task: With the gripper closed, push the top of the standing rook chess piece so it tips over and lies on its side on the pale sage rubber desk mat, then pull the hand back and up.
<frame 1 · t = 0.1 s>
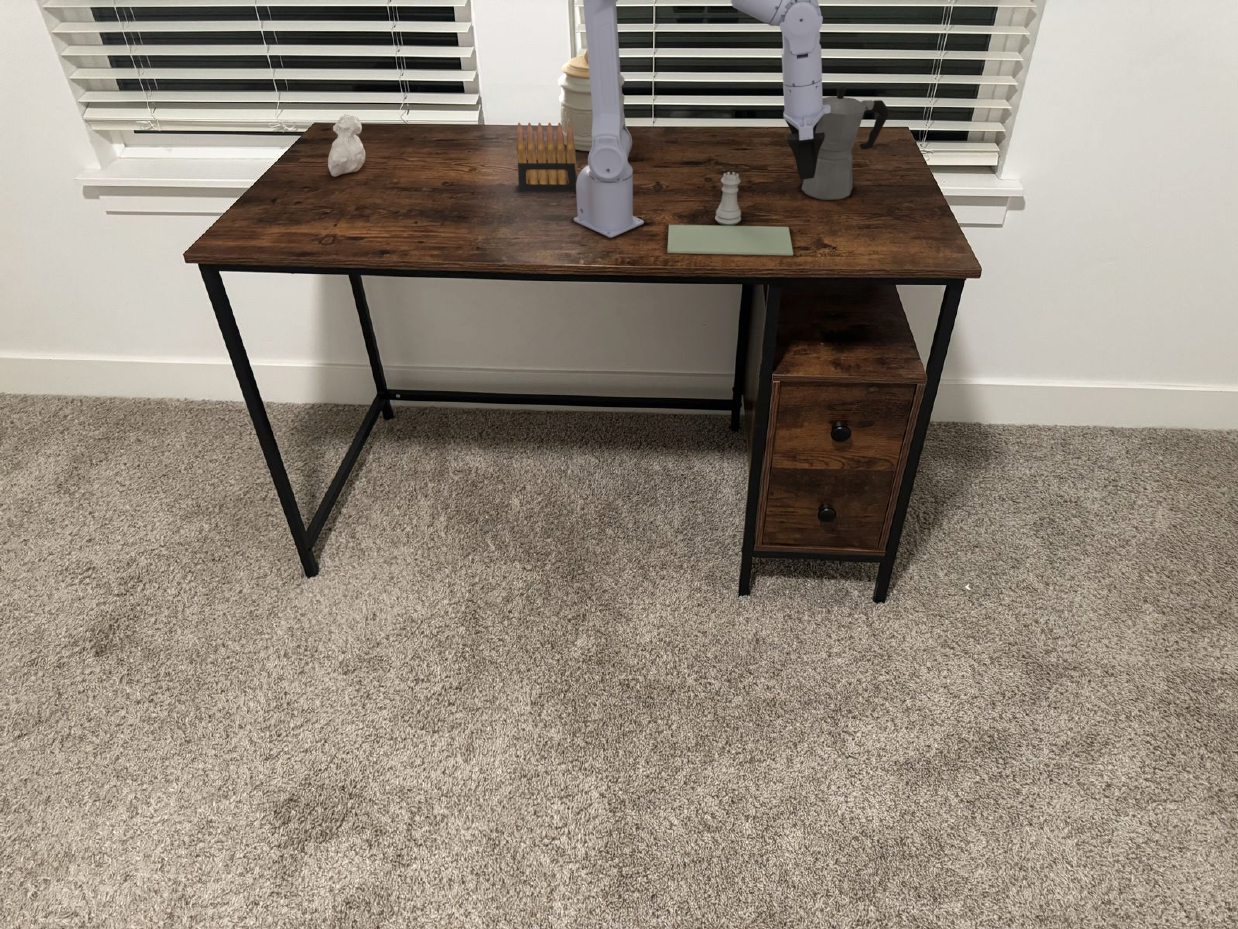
hand: (805, 168, 142), 11 cm above the table, tool pointing down, fingers open, 7 cm apart
ammunition clip: (548, 189, 163), on the table
rook chess piece: (727, 221, 151), on the table
jar: (593, 141, 181), on the table
white tied sack: (351, 170, 171), on the table
mat: (729, 240, 146), on the table
coffeepot: (832, 190, 161), on the table
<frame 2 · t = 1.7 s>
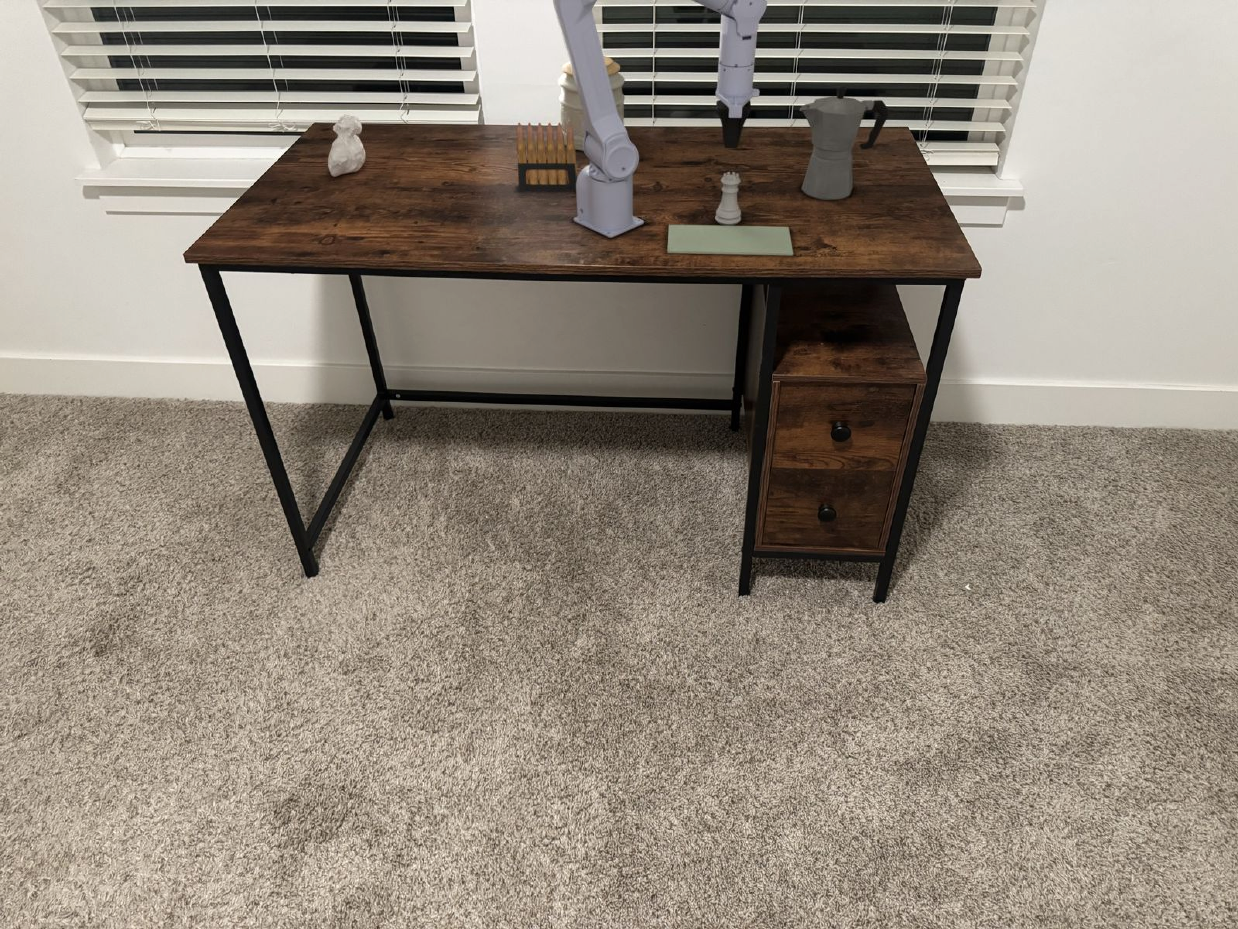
hand: (730, 146, 151), 10 cm above the table, tool pointing down, fingers closed
nothing on the table moved.
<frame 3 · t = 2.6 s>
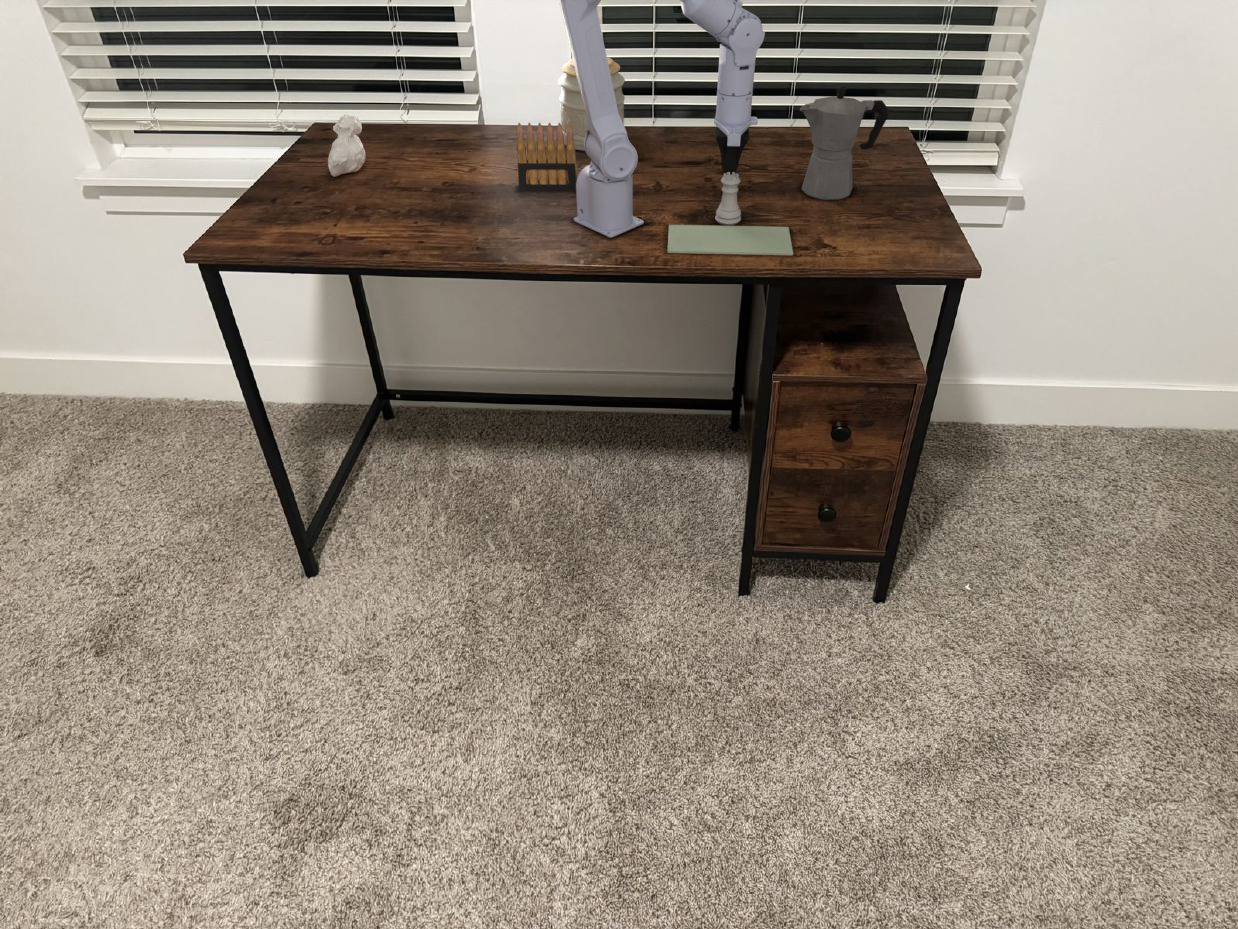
hand: (729, 172, 152), 6 cm above the table, tool pointing down, fingers closed
nothing on the table moved.
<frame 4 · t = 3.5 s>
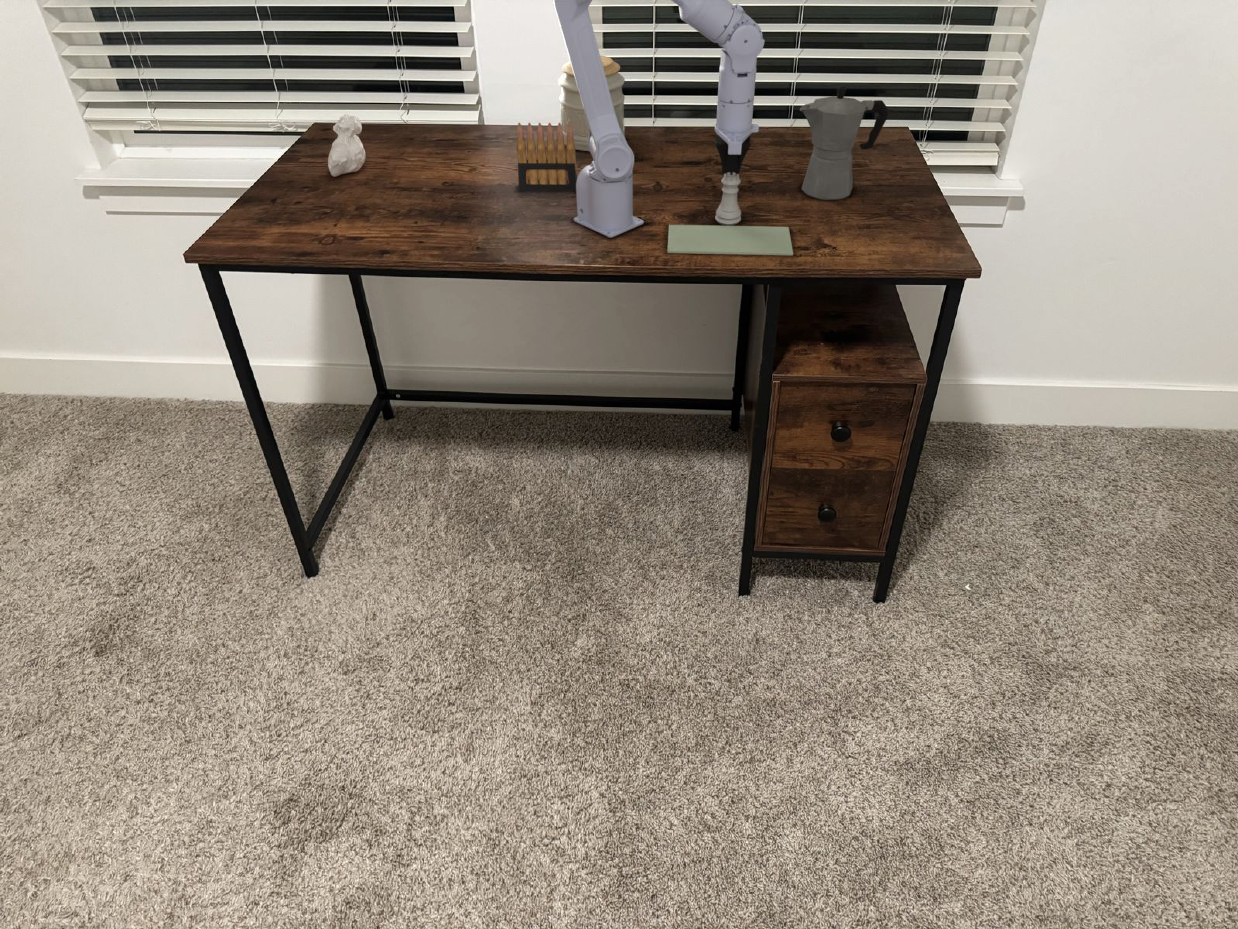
hand: (730, 181, 149), 6 cm above the table, tool pointing down, fingers closed
rook chess piece: (727, 221, 151), on the table, touching gripper
everything else where it was.
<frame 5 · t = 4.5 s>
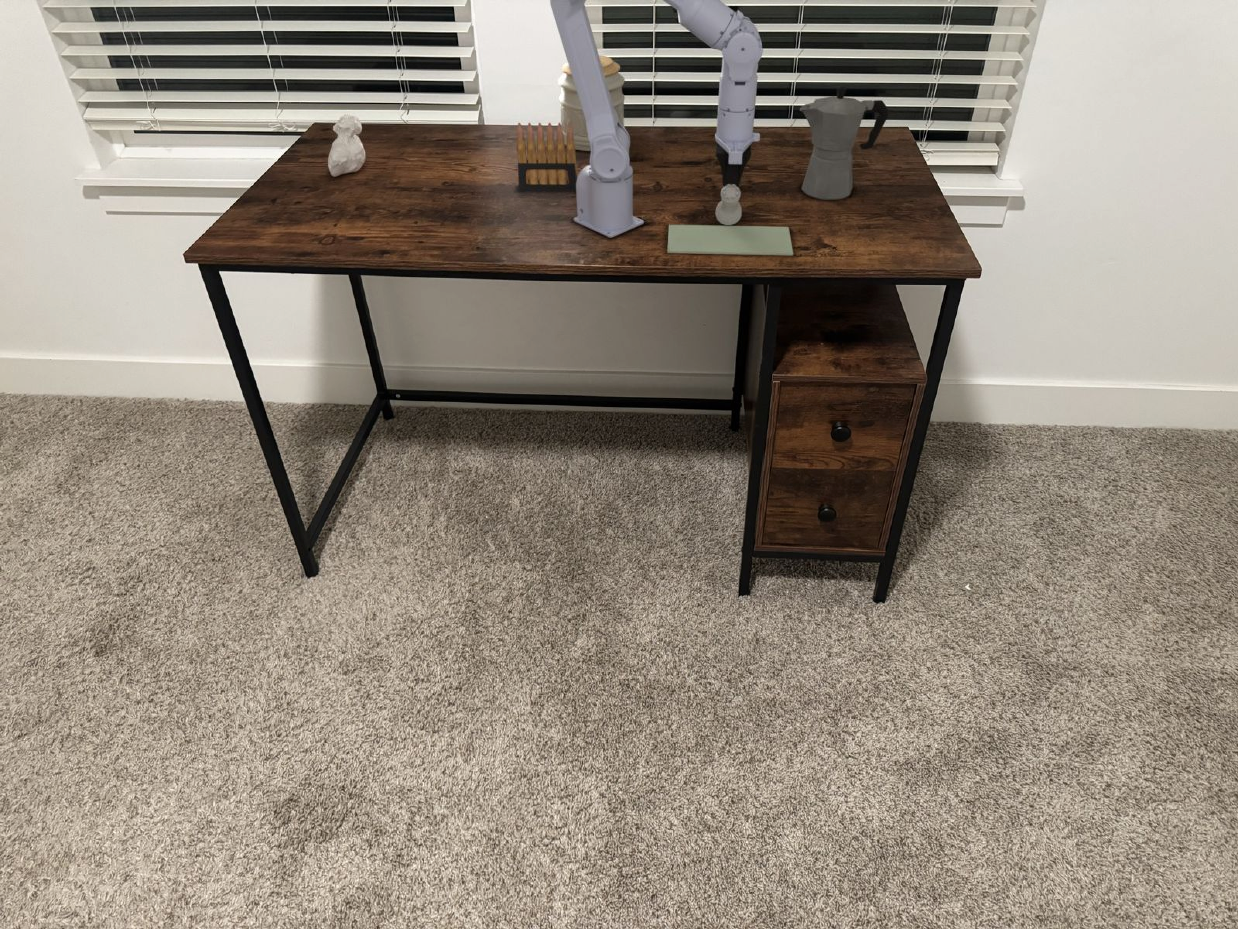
hand: (730, 190, 146), 6 cm above the table, tool pointing down, fingers closed
rook chess piece: (728, 214, 150), point 1 cm above the table
everything else where it was.
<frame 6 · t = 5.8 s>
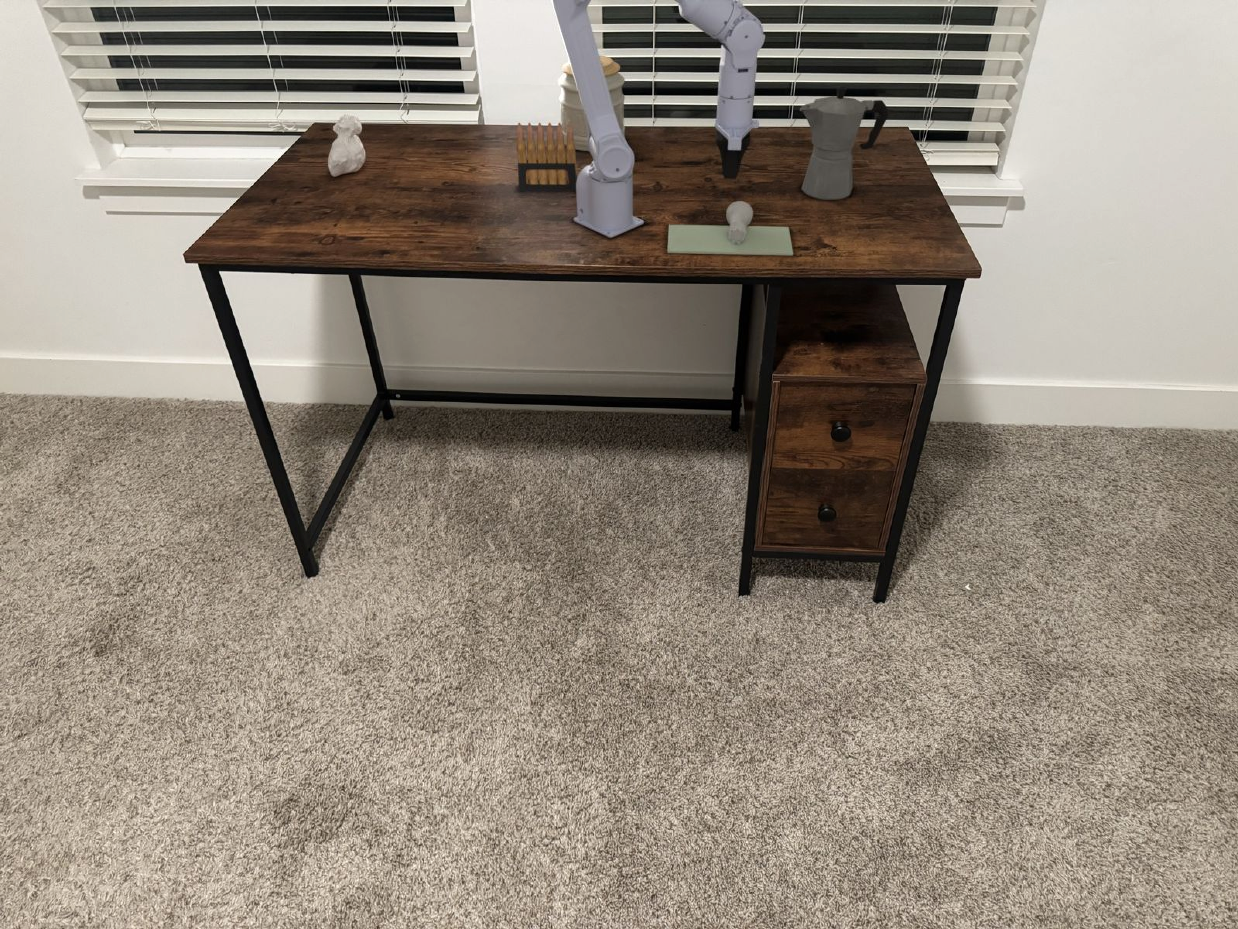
hand: (730, 177, 149), 7 cm above the table, tool pointing down, fingers closed
rook chess piece: (739, 211, 148), point 3 cm above the table, touching mat
everything else where it was.
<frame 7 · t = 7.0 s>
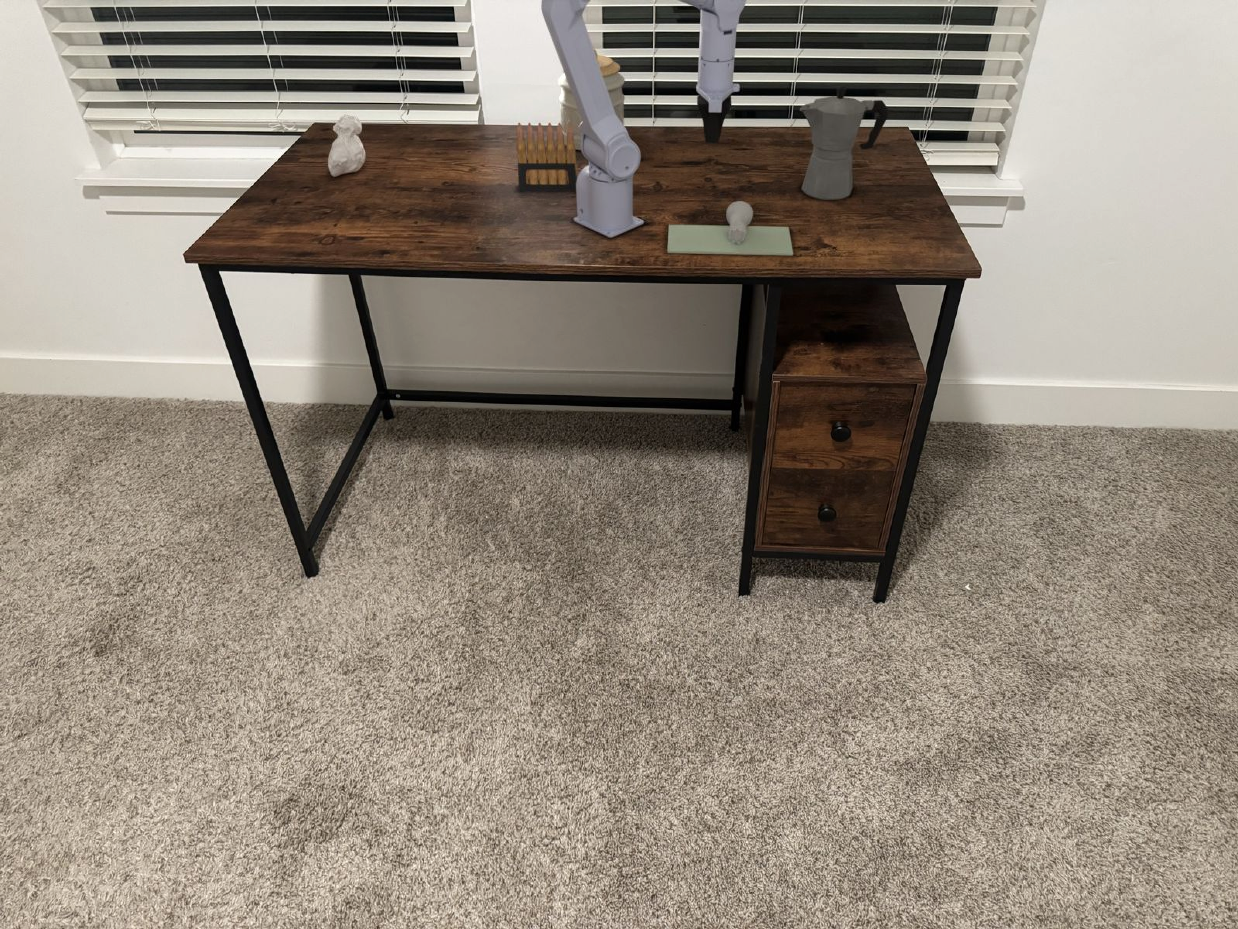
hand: (711, 141, 151), 10 cm above the table, tool pointing down, fingers closed
nothing on the table moved.
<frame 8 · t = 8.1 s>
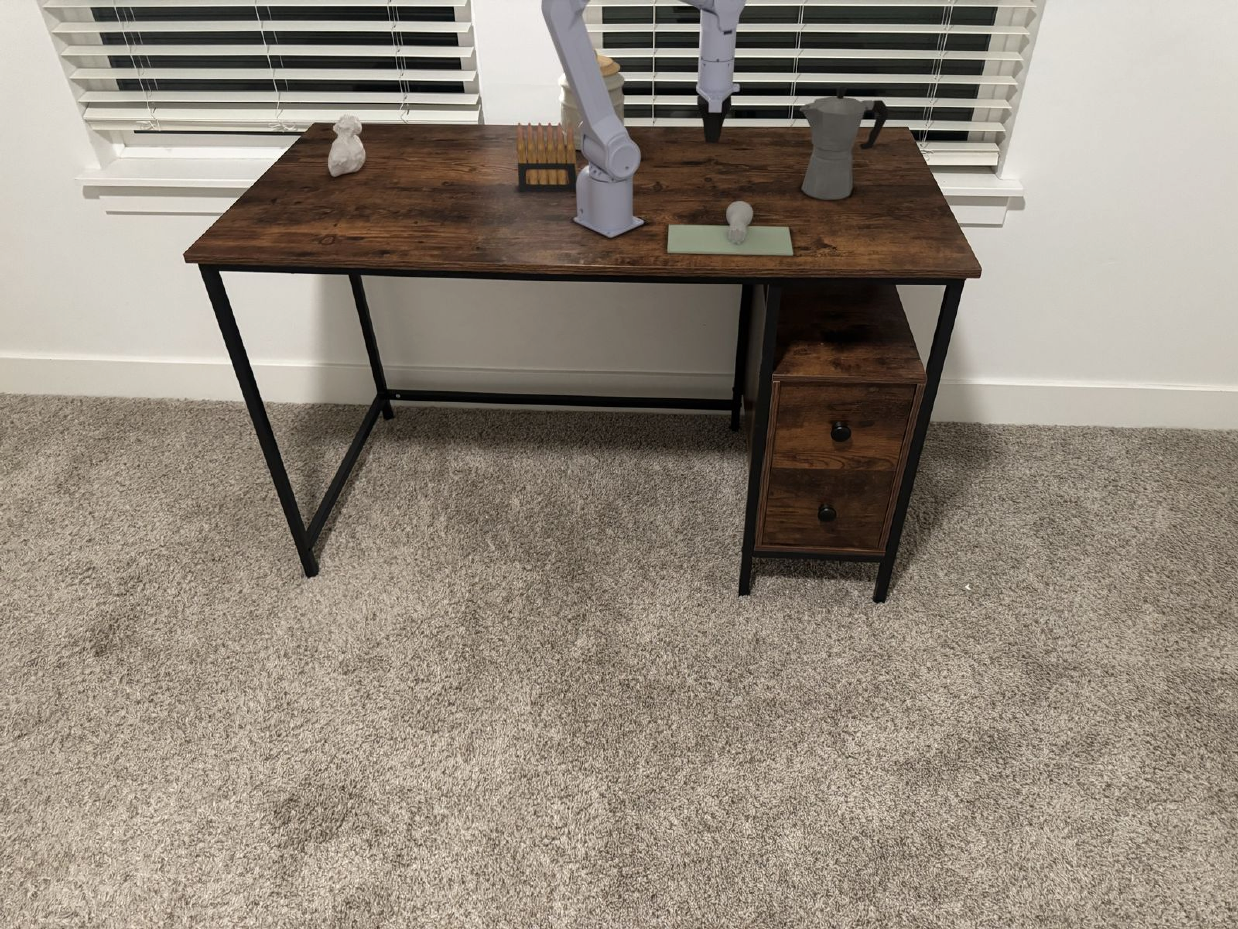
hand: (711, 141, 151), 10 cm above the table, tool pointing down, fingers closed
nothing on the table moved.
at the end: rook chess piece tilted 95°; rook chess piece touching mat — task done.
